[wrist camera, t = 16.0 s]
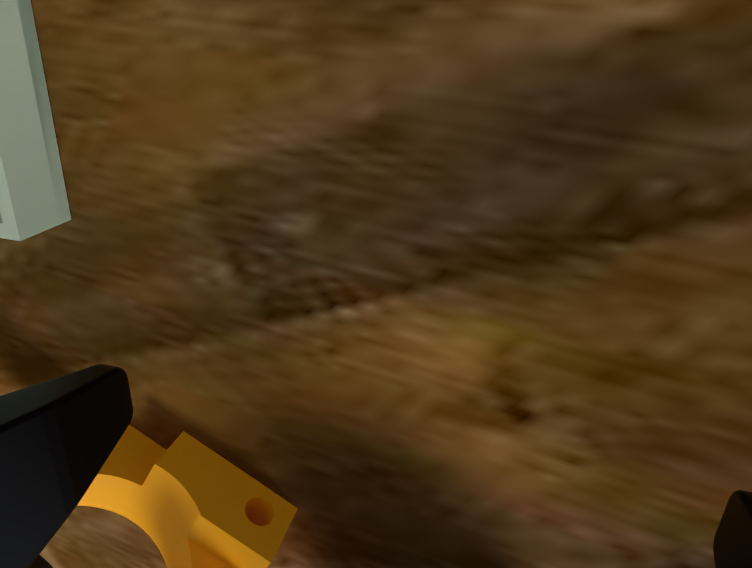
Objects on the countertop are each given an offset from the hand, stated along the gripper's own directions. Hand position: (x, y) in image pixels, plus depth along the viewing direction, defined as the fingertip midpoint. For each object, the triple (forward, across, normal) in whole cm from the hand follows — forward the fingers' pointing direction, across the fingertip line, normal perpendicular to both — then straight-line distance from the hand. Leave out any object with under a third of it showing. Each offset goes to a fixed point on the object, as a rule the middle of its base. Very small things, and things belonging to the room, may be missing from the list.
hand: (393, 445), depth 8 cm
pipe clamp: (+12, +13, +14) cm, 23 cm away
